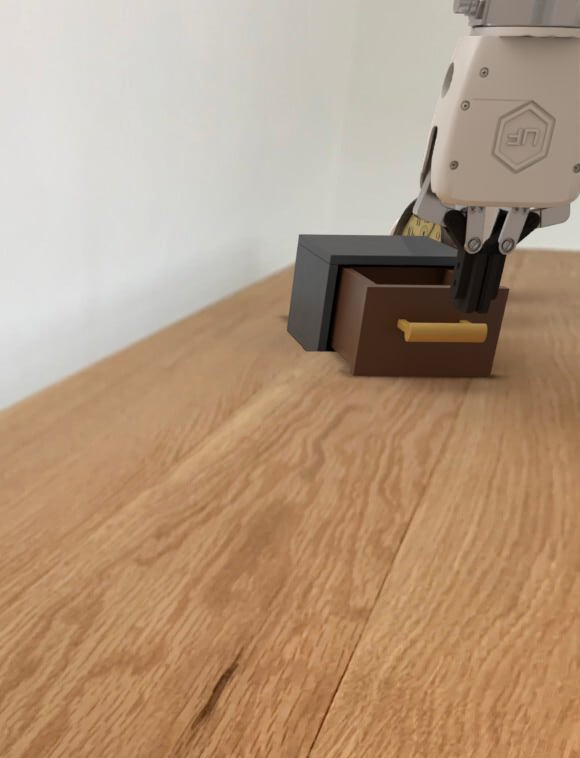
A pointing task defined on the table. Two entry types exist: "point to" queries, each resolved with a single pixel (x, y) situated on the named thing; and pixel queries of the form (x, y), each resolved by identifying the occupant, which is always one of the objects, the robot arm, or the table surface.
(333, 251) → the cabinet
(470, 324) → the drawer
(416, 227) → the alarm clock
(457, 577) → the table surface
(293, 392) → the table surface
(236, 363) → the table surface
